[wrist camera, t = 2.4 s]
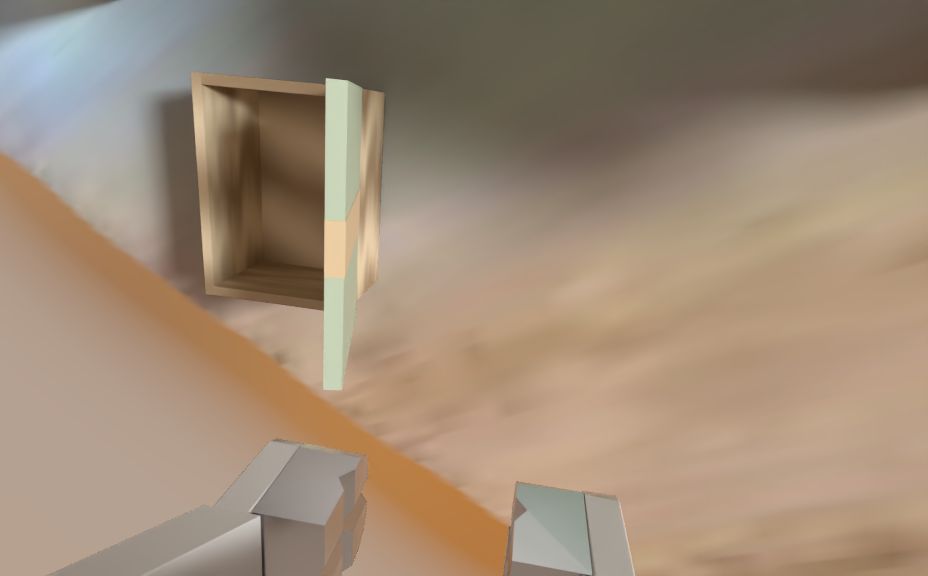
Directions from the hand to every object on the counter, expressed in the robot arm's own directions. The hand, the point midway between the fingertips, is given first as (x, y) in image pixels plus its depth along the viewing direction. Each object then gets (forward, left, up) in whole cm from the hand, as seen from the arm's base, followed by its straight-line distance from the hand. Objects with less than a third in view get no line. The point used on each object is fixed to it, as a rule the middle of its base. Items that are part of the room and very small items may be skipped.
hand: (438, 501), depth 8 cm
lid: (0, -8, -18) cm, 19 cm away
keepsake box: (0, -14, -29) cm, 32 cm away
